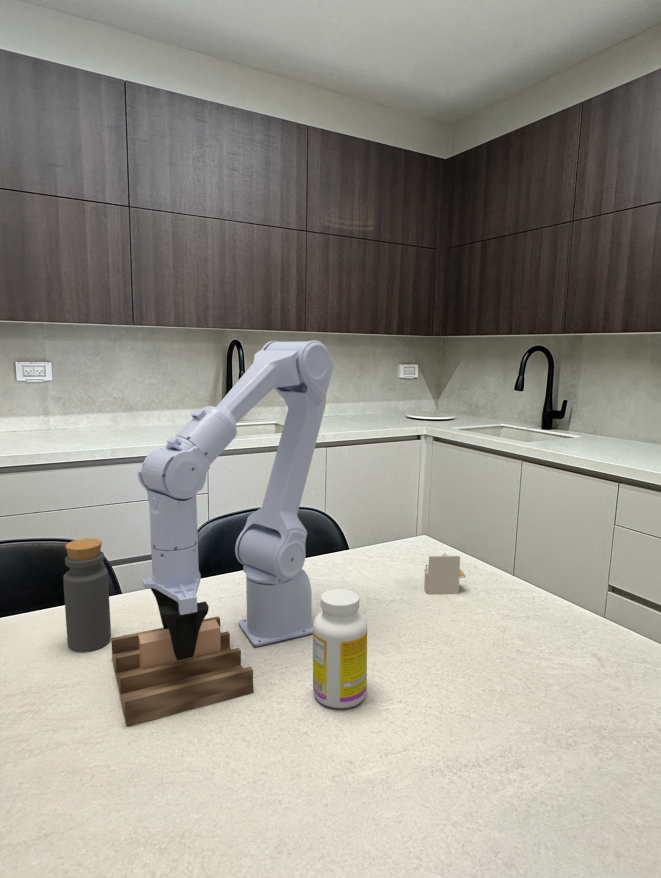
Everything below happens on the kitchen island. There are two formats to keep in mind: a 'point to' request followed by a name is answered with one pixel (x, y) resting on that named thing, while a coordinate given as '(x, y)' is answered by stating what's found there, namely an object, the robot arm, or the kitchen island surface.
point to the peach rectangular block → (160, 650)
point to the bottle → (86, 596)
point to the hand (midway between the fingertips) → (178, 643)
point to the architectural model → (443, 575)
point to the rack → (176, 679)
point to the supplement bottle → (340, 650)
